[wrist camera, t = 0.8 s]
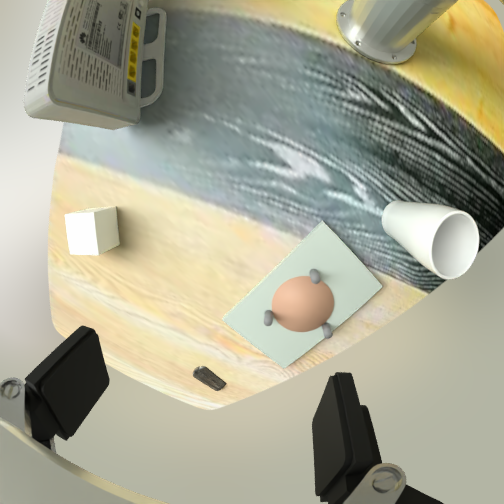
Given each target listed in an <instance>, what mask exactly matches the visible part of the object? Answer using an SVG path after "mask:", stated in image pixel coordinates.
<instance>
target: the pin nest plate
mask: <svg viewBox="0 0 504 504" xmlns="http://www.w3.org/2000/svg"><path fill="white" fill-rule="evenodd" d="M382 287H383V286H382V285H381V284H380V282H379V281H378V280H377V279H376V278H375V277H374V276H373V274H372V273H371V272H370V271H369V270H368V269H367V268H366V267H365V265H364V264H363V263H362V262H361V261H360V260H359V259H358V258H357V257H356V256H355V254H354V253H353V252H352V251H351V250H350V249H349V248H348V247H347V246H346V245H345V244H344V243H343V242H342V240H341V239H340V238H339V237H338V236H337V235H336V234H335V233H334V232H333V231H332V230H331V229H330V228H329V227H328V226H327V225H326V224H325V223H324V222H323V221H321V222H320V223H319V224H318V225H317V226H316V227H315V228H314V229H313V230H312V231H311V232H310V233H309V234H308V235H307V236H306V237H305V238H304V239H303V240H302V241H301V242H300V243H299V244H298V245H297V246H296V247H295V248H294V249H293V250H292V251H291V252H290V253H289V254H288V255H287V256H286V257H285V258H284V259H283V260H282V261H281V262H280V263H279V264H278V265H277V266H276V267H275V268H274V269H273V270H272V271H270V272H269V273H268V274H267V275H266V276H265V277H264V278H263V279H262V280H261V281H260V282H259V283H258V284H257V285H256V286H255V287H254V288H253V289H252V290H251V291H250V292H249V293H248V294H246V295H245V296H244V297H243V298H242V299H241V300H240V301H239V302H238V303H237V304H236V305H235V306H234V307H233V308H232V309H231V310H229V311H228V312H227V313H226V314H225V315H224V316H223V319H222V320H223V321H224V322H225V323H226V324H228V325H229V326H230V327H231V328H233V329H234V330H235V331H236V332H237V333H239V334H240V335H241V336H242V337H244V338H245V339H246V340H247V341H249V342H250V343H251V344H252V345H254V346H255V347H256V348H258V349H259V350H260V351H261V352H263V353H264V354H265V355H267V356H268V357H269V358H271V359H272V360H273V361H274V362H276V363H277V364H278V365H280V366H281V367H282V368H286V367H287V366H288V365H290V364H291V363H292V362H294V361H295V360H297V359H298V358H299V357H301V356H302V355H303V354H304V353H306V352H307V351H308V350H310V349H311V348H312V347H314V346H315V345H316V344H317V343H319V342H320V341H321V340H322V339H324V338H331V337H332V335H333V334H332V331H333V330H335V329H336V328H337V327H338V326H339V325H341V324H342V323H343V322H344V321H345V320H346V319H348V318H349V317H350V316H351V315H352V314H353V313H354V312H356V311H357V310H358V309H359V308H360V307H361V306H362V305H363V304H365V303H366V302H367V301H368V300H369V299H370V298H371V297H372V296H373V295H374V294H375V293H376V292H378V291H379V290H380V289H381V288H382Z"/></svg>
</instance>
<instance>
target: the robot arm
mask: <svg viewBox="0 0 504 504" xmlns="http://www.w3.org/2000/svg"><path fill="white" fill-rule="evenodd" d="M457 1H458V0H348V1H346V2H344V3H343V4H342V5H341V6H340V8H339V10H338V13H337V18H336V21H337V26H338V29H339V31H340V33H341V35H342V36H343V38H344V39H345V40H346V41H347V43H348V44H349V45H350V46H351V47H353V48H354V49H355V50H356V51H358V52H359V53H360V54H362V55H364V56H366V57H367V58H369V59H372V60H374V61H377V62H381V63H385V64H399V63H402V62H405V61H406V60H408V59H409V58H410V57H411V56H412V55H413V54H414V52H415V50H416V46H417V43H416V37H417V36H418V35H420V34H421V33H422V32H423V31H424V30H425V29H426V28H427V27H428V26H430V25H431V24H432V23H433V22H434V21H435V20H436V19H438V18H439V17H440V16H441V15H442V14H443V13H444V12H446V11H447V10H448V9H449V8H450V7H451V6H453V5H454V4H455V3H456V2H457ZM500 1H501V2H502V3H503V4H504V0H500ZM25 381H26V384H25V385H24V383H23V382H22V381H21V380H20V379H18V378H8V379H6V380H4V381H3V382H1V384H0V504H169V503H165V502H162V501H159V500H156V499H153V498H149V497H147V496H144V495H141V494H138V493H136V492H133V491H130V490H128V489H125V488H123V487H120V486H118V485H116V484H113V483H111V482H109V481H106V480H105V479H102V478H100V477H98V476H96V475H94V474H92V473H90V472H88V471H86V470H84V469H82V468H80V467H79V466H77V465H75V464H73V463H71V462H69V461H68V460H66V459H64V458H63V457H61V456H59V455H58V454H56V450H55V443H54V435H55V434H57V435H58V436H59V437H61V438H62V439H64V440H67V439H68V438H69V437H71V436H73V435H74V433H75V432H76V430H77V429H78V428H79V426H80V425H81V424H82V422H83V421H84V419H85V418H86V416H87V415H88V414H89V412H90V411H91V409H92V408H93V406H94V405H95V403H96V402H97V401H98V399H99V398H100V397H101V395H102V394H103V392H104V391H105V390H106V388H107V387H108V385H109V376H108V373H107V369H106V365H105V362H104V358H103V354H102V350H101V346H100V342H99V337H98V335H97V334H96V332H95V330H94V329H92V328H89V327H86V326H80V327H79V328H78V329H77V330H76V331H75V332H74V333H72V334H71V335H70V336H69V337H68V338H67V339H66V340H65V341H64V342H63V343H61V344H60V345H59V346H58V347H57V348H56V349H55V350H54V351H53V352H52V353H51V354H50V355H49V356H48V357H47V358H46V359H44V360H43V361H42V362H41V363H40V364H39V365H38V366H37V367H36V368H35V369H34V370H33V371H32V372H31V373H30V374H29V375H28V376H27V377H26V378H25ZM312 433H313V449H314V467H315V493H316V496H320V501H321V502H328V504H443V503H442V502H440V501H438V500H436V499H434V498H432V497H430V496H428V495H425V494H424V493H421V492H420V491H418V490H416V489H414V488H412V487H410V486H408V485H406V476H405V473H404V471H403V470H402V469H401V468H400V467H398V466H397V465H394V464H391V463H382V460H381V456H380V452H379V448H378V445H377V440H376V436H375V432H374V428H373V425H372V421H371V418H370V414H369V411H368V408H367V407H366V406H365V405H360V402H359V398H358V395H357V391H356V388H355V384H354V380H353V377H352V374H351V373H342V372H341V373H340V372H336V373H335V375H334V376H330V377H329V380H328V382H327V385H326V388H325V391H324V394H323V396H322V398H321V401H320V403H319V406H318V408H317V411H316V413H315V416H314V418H313V422H312Z"/></svg>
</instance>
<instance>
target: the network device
mask: <svg viewBox="0 0 504 504" xmlns="http://www.w3.org/2000/svg"><path fill="white" fill-rule="evenodd" d="M148 1H149V0H48V1H47V4H46V7H45V10H44V13H43V15H42V18H41V22H40V25H39V28H38V32H37V35H36V39H35V43H34V47H33V51H32V55H31V60H30V65H29V69H28V75H27V81H26V88H25V95H24V108H25V111H26V113H27V114H28V115H29V116H30V117H32V118H38V119H47V120H55V121H62V122H69V123H76V124H82V125H88V126H94V127H100V128H105V129H110V130H115V129H119V128H123V127H127V126H131V125H135V124H138V123H139V121H140V107H144V106H148V105H150V104H152V103H153V102H155V101H156V100H157V99H158V97H159V96H160V94H161V93H162V90H163V84H164V51H165V34H166V20H167V14H166V12H165V11H164V10H163V9H161V8H150V9H147V8H148ZM153 14H160V19H159V30H158V37H157V39H156V40H155V41H153V42H152V43H149V44H145V45H143V43H144V32H145V23H146V17H147V16H150V15H153ZM150 59H155V60H156V89H155V91H154V93H153V94H152V95H151V96H149V97H145V98H141V71H142V62H143V61H147V60H150Z"/></svg>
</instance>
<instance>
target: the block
mask: <svg viewBox="0 0 504 504" xmlns="http://www.w3.org/2000/svg"><path fill="white" fill-rule="evenodd" d="M193 376H194V377H195V378H196V379H198V380H199V381H201V382H203V383H204V384H206V385H207V386H209V387H210V388H212V389H214V390H215V391H219V390H220V389H222V388H223V387H224V386H225V384H226V383H225V382H224V381H223V380H221V379H220V378H219V377H218V376H216V375H215V374H214V373H213V372H211V371H210V370H209V369H208V368H207V367H205V366H201V367H197V368H196V369H195V370H194V371H193Z"/></svg>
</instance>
